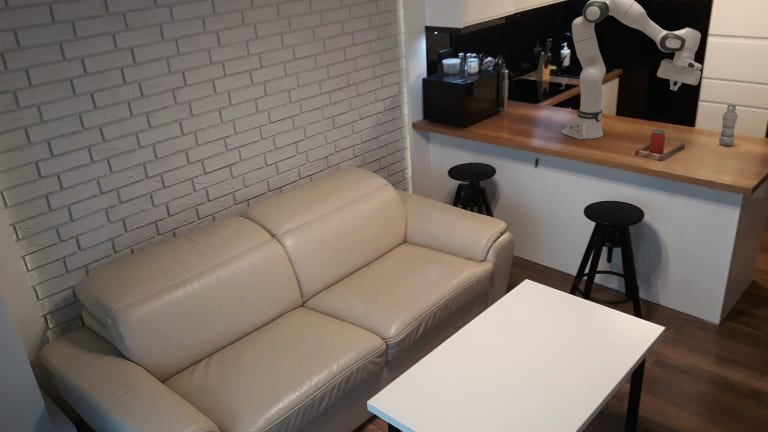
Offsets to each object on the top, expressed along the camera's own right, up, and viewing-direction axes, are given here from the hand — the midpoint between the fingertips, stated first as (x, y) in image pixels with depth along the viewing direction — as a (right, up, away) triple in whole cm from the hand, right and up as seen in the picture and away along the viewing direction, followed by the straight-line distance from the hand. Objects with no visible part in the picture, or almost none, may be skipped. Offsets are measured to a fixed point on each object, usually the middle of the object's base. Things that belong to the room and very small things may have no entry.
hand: (673, 90), depth 307 cm
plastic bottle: (+26, -28, -1) cm, 38 cm away
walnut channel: (-7, -31, -1) cm, 32 cm away
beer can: (-10, -33, -3) cm, 35 cm away
